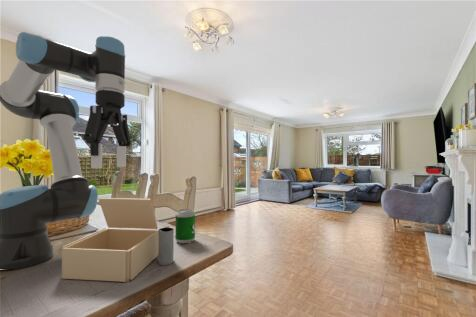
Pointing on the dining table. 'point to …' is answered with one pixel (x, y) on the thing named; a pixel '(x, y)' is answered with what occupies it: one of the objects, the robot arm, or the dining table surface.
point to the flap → (128, 213)
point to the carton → (110, 254)
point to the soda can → (185, 226)
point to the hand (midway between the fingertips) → (110, 167)
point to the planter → (165, 246)
